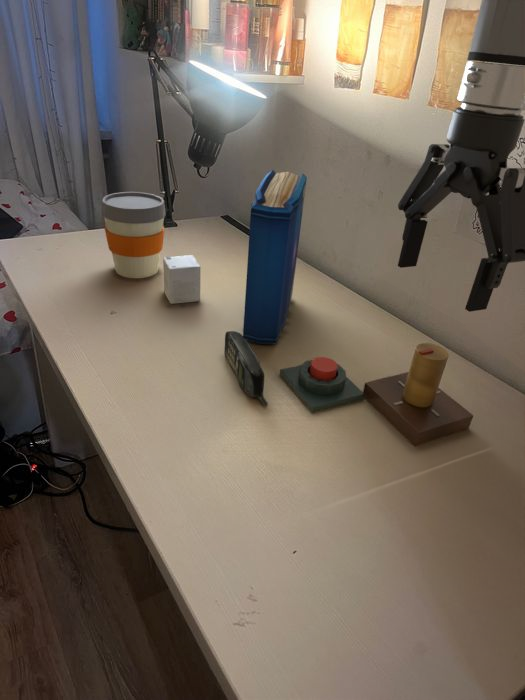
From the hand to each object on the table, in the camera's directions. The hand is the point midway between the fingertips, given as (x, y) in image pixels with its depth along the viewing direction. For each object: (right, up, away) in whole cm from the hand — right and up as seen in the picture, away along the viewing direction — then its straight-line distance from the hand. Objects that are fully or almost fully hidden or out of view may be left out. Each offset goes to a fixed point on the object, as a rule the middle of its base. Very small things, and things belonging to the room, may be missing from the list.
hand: (438, 286), depth 67 cm
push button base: (-14, -14, +11) cm, 23 cm away
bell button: (-14, -12, +9) cm, 21 cm away
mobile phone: (-26, -13, +11) cm, 31 cm away
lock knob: (-1, -15, +6) cm, 17 cm away
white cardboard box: (-39, +2, +33) cm, 52 cm away
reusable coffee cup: (-50, +9, +43) cm, 67 cm away
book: (-22, -3, +28) cm, 36 cm away
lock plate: (-1, -18, +8) cm, 19 cm away
